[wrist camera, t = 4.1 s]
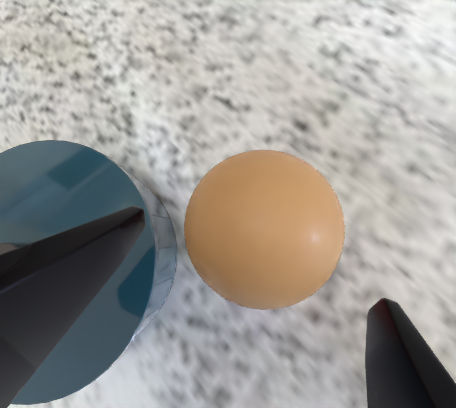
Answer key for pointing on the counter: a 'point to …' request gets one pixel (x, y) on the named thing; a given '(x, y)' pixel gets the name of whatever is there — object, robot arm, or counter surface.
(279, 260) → the toy
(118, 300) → the pot lid
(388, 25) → the counter surface
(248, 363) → the counter surface
